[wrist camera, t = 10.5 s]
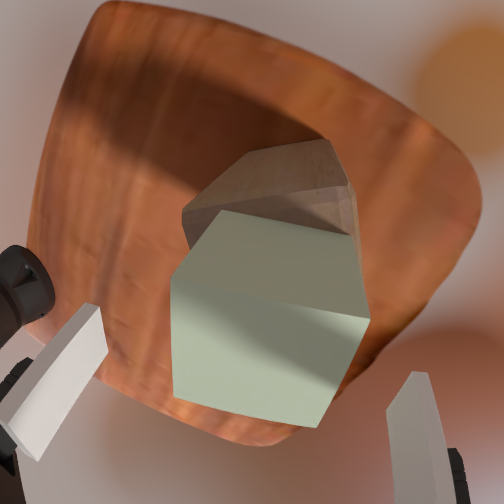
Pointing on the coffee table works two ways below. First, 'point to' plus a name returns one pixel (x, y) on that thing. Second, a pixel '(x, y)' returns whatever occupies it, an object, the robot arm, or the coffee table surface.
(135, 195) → the coffee table surface
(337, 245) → the sage cube
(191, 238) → the wooden block
